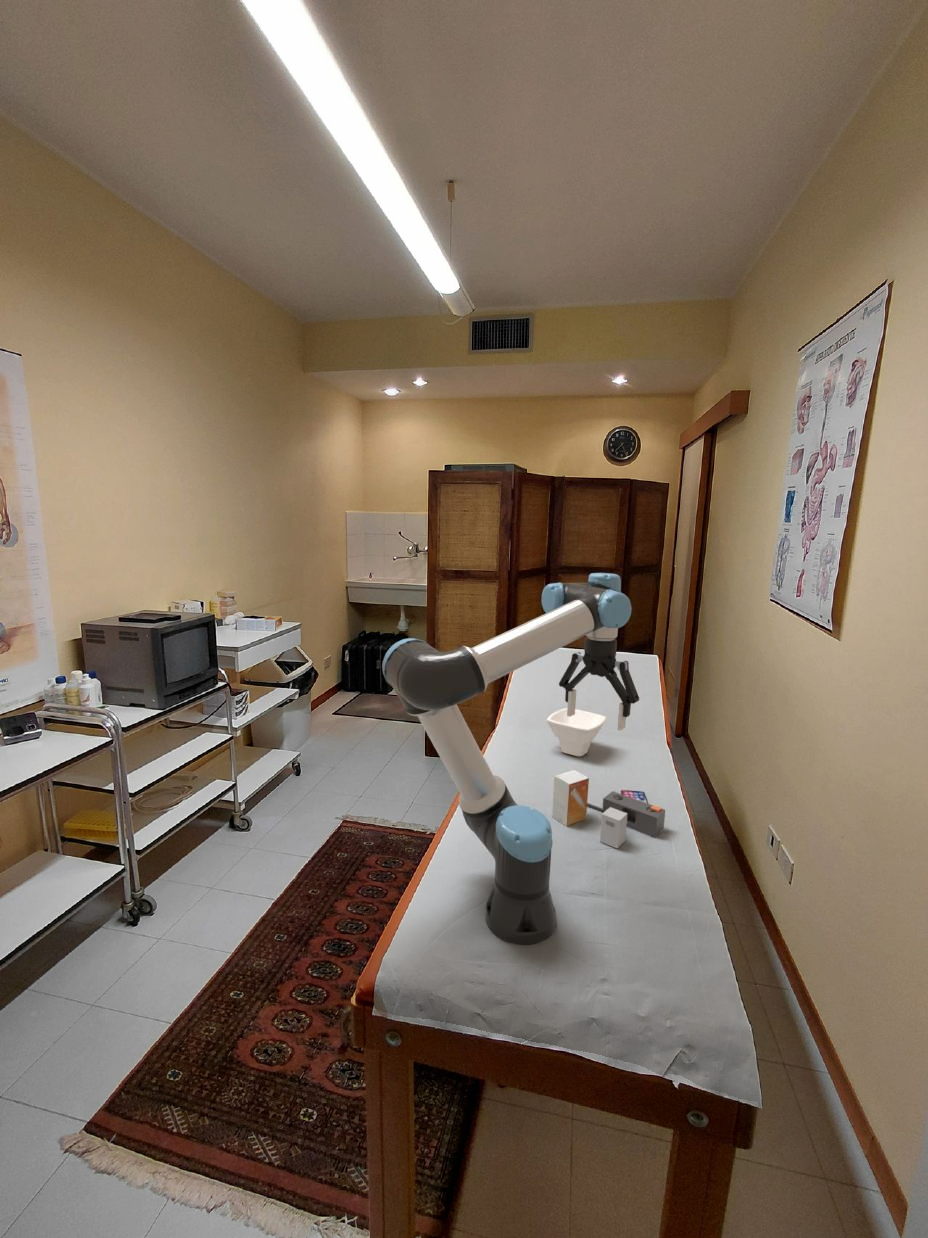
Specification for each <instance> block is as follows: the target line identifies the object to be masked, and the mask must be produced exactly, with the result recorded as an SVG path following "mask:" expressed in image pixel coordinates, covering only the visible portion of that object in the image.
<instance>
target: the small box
mask: <svg viewBox="0 0 928 1238" xmlns="http://www.w3.org/2000/svg"><path fill="white" fill-rule="evenodd" d="M553 780H554V781H553V792H552V795H553V797H552V809H551V810H552V814H551V817H552V818H553V819H554V820H557V822H558V823H561V824H563V825H564V826H565V827H568V826H571V825H572V824H573V825H574V824H577V822H581V821H583V820H586V819H587V809H588V807H587V803H588V797H589V782H590V778H589V777H588V776H586V775H584V774H582V773H581V772H579V771H577V770H575V769H572V770H569V771H567V772H562V773H560V774H557V775H554V779H553Z"/></svg>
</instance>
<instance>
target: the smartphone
mask: <svg viewBox="0 0 928 1238" xmlns="http://www.w3.org/2000/svg"><path fill="white" fill-rule="evenodd" d="M620 794H622V795H625V796H628V797H630V798H633V799H636V800H639V801H642V802H645V803H648V804H649V802H648V798H647V795H646V793H645V792H644V791H641V790H629V789H627V790H626V789H621V790H620Z"/></svg>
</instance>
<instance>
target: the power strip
mask: <svg viewBox="0 0 928 1238" xmlns="http://www.w3.org/2000/svg"><path fill="white" fill-rule="evenodd" d="M602 799H603V800H602V807H599V806H597V805H594V804H592V803H589V802H587V808H590V809H592V810H595V811H597V812H600V813H601V815H602V814H603V813H604V812H605V811H606V810H607V809H608V808H610V807H611V808H614V809H617V810H619V811H622V812H625V813H627V826H626V828H628V829H631V830H633V831H636V832H639V833H641V834H644V835H646V836H649V837H651V838H654V839H656V838H657V837H658V836H659V835H660V833H662V832H663V831H664V829H665V818H666V817H665V816H666V809H665V808H663V807H661V806H658V805H654V804H650V803H649V802H648V803H645V802H642V801H639V800H636V799H633V798H630V797H628V796H625V795H622V794H621V793H619V792H616V791H614V790H613V791H611V792H609V793H608V794H607V795H606V796H605V797H603V798H602Z"/></svg>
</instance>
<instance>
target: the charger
mask: <svg viewBox="0 0 928 1238" xmlns="http://www.w3.org/2000/svg"><path fill="white" fill-rule="evenodd" d="M626 826H627V813H625V812H622V811H619V810H617V809H614V808H611V807H610V808H608V809H607V810H606V811H605V812H604V813H603V814H602V813H601V823H600V834H599V835H600V836H599V841H600V842H601V843H603V844H606V845H608V846H611V847H613V848H615V849H619V848H620V847H621V845H623V843H624V842H626V838H627V827H626Z"/></svg>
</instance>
